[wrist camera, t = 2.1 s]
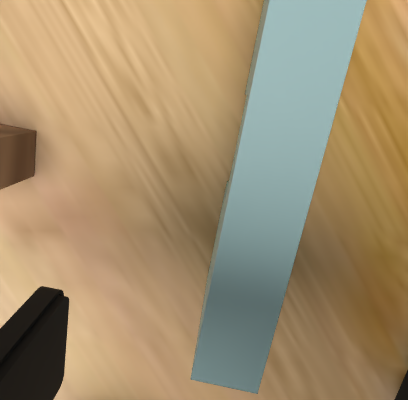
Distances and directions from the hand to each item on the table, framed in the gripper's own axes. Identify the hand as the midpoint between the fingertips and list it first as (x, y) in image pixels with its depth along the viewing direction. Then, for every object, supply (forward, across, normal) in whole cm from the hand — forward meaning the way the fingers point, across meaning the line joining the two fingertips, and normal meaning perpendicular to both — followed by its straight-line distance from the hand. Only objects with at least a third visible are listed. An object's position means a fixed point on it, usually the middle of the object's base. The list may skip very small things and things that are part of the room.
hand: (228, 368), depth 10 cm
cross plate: (+11, -1, -4) cm, 12 cm away
